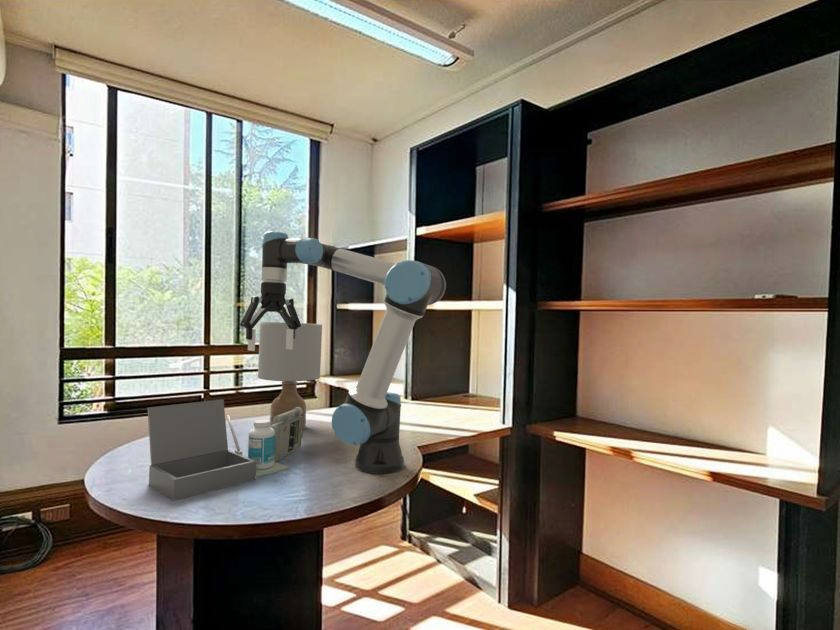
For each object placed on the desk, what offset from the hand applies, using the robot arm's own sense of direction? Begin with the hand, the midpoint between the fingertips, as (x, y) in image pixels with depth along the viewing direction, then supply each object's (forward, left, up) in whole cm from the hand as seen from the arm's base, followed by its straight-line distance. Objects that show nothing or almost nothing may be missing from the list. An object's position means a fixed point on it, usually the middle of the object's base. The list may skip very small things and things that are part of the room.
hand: (270, 350), depth 150 cm
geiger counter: (+3, -10, -34) cm, 36 cm away
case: (-3, +22, -35) cm, 41 cm away
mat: (-6, +5, -35) cm, 35 cm away
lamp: (+31, -29, -35) cm, 55 cm away
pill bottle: (-6, +5, -34) cm, 35 cm away
